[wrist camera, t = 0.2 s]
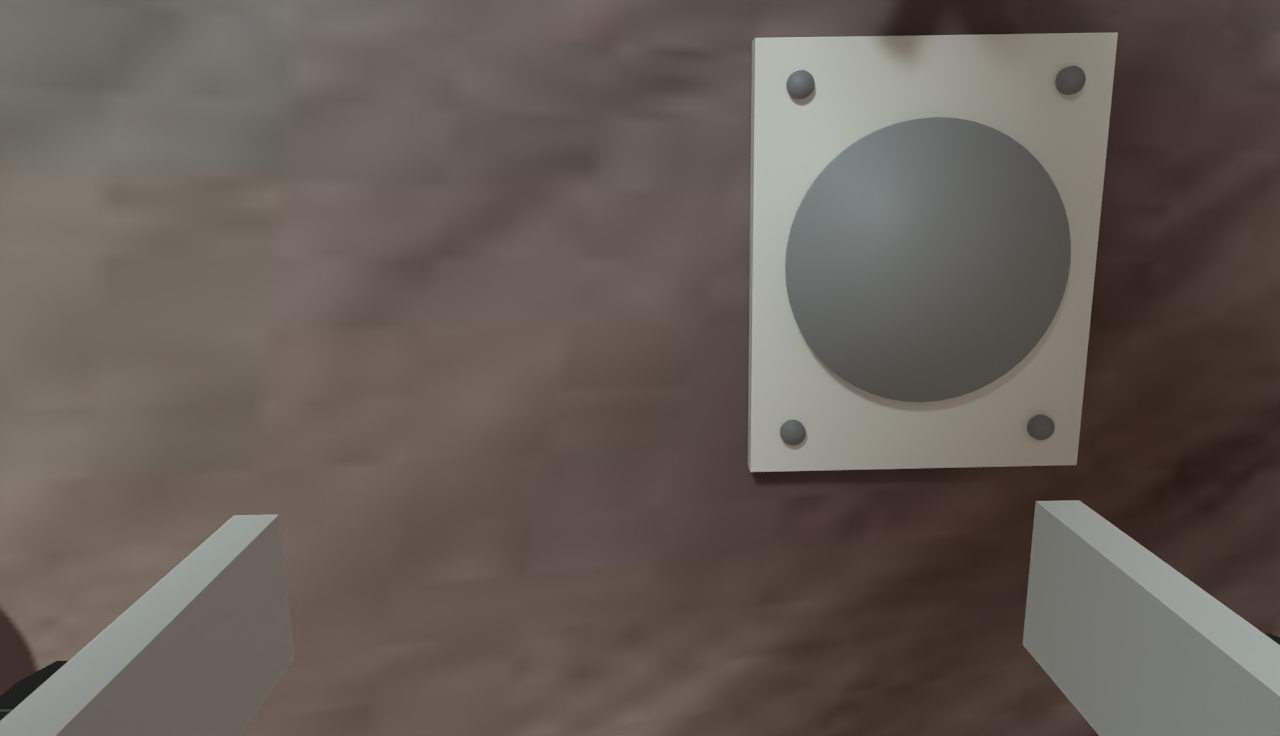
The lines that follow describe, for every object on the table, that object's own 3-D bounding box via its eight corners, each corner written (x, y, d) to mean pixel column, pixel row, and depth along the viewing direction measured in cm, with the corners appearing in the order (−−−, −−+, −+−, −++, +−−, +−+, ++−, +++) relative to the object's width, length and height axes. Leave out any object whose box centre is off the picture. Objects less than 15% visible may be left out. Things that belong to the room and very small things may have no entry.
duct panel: (752, 41, 39) (757, 35, 38) (1105, 36, 40) (1125, 30, 38) (747, 465, 44) (752, 476, 42) (1066, 458, 44) (1082, 469, 42)
